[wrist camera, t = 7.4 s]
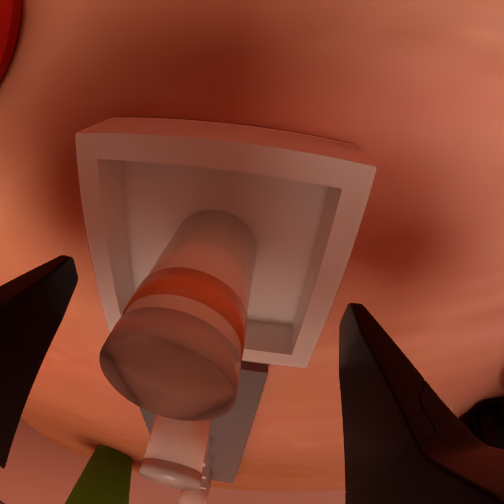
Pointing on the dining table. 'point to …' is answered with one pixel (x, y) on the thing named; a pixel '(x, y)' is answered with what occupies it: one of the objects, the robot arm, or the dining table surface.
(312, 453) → the dining table surface
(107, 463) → the cup
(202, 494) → the cylinder
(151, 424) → the fuse block
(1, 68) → the canned food
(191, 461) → the cylinder
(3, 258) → the dining table surface
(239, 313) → the cylinder
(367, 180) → the tray
